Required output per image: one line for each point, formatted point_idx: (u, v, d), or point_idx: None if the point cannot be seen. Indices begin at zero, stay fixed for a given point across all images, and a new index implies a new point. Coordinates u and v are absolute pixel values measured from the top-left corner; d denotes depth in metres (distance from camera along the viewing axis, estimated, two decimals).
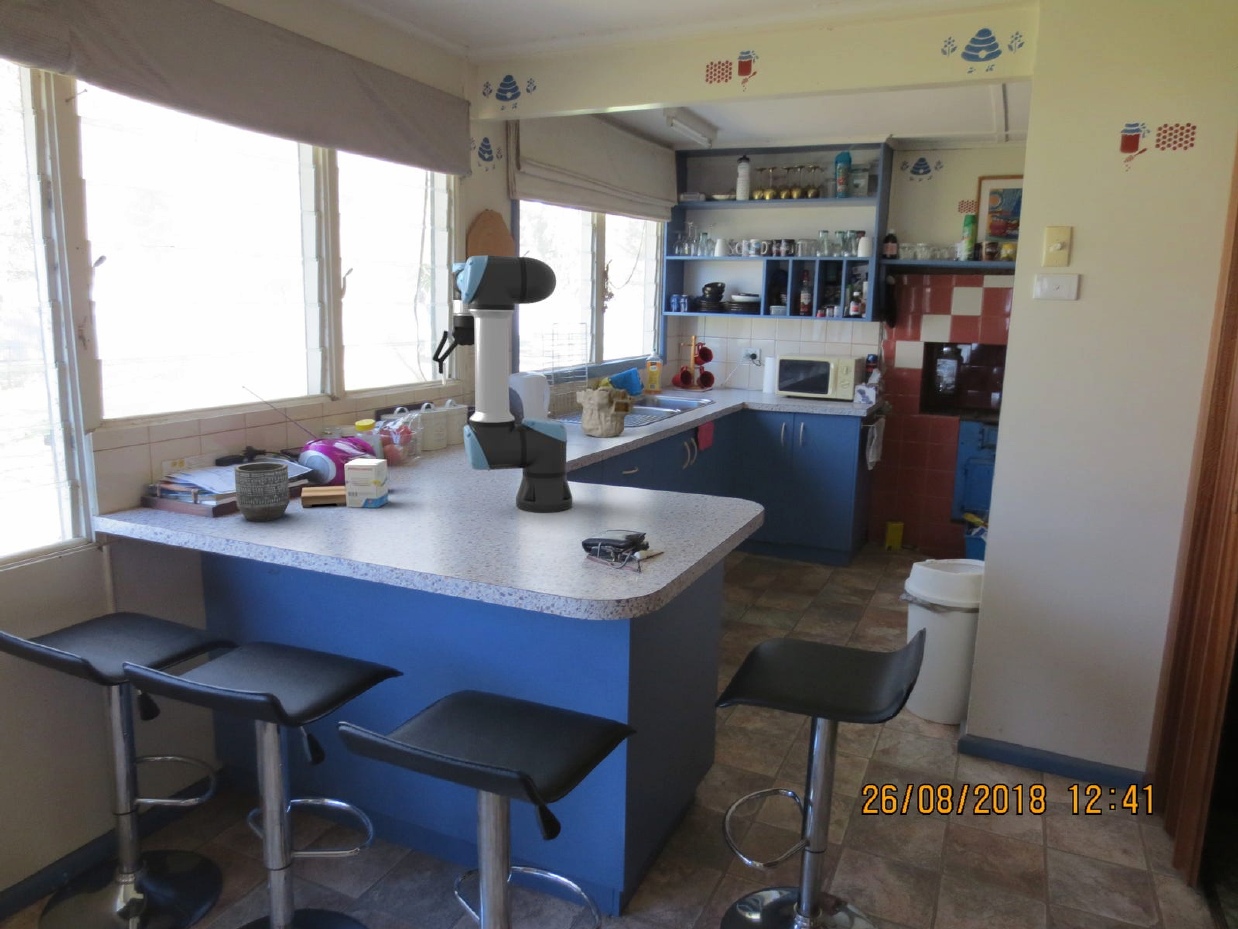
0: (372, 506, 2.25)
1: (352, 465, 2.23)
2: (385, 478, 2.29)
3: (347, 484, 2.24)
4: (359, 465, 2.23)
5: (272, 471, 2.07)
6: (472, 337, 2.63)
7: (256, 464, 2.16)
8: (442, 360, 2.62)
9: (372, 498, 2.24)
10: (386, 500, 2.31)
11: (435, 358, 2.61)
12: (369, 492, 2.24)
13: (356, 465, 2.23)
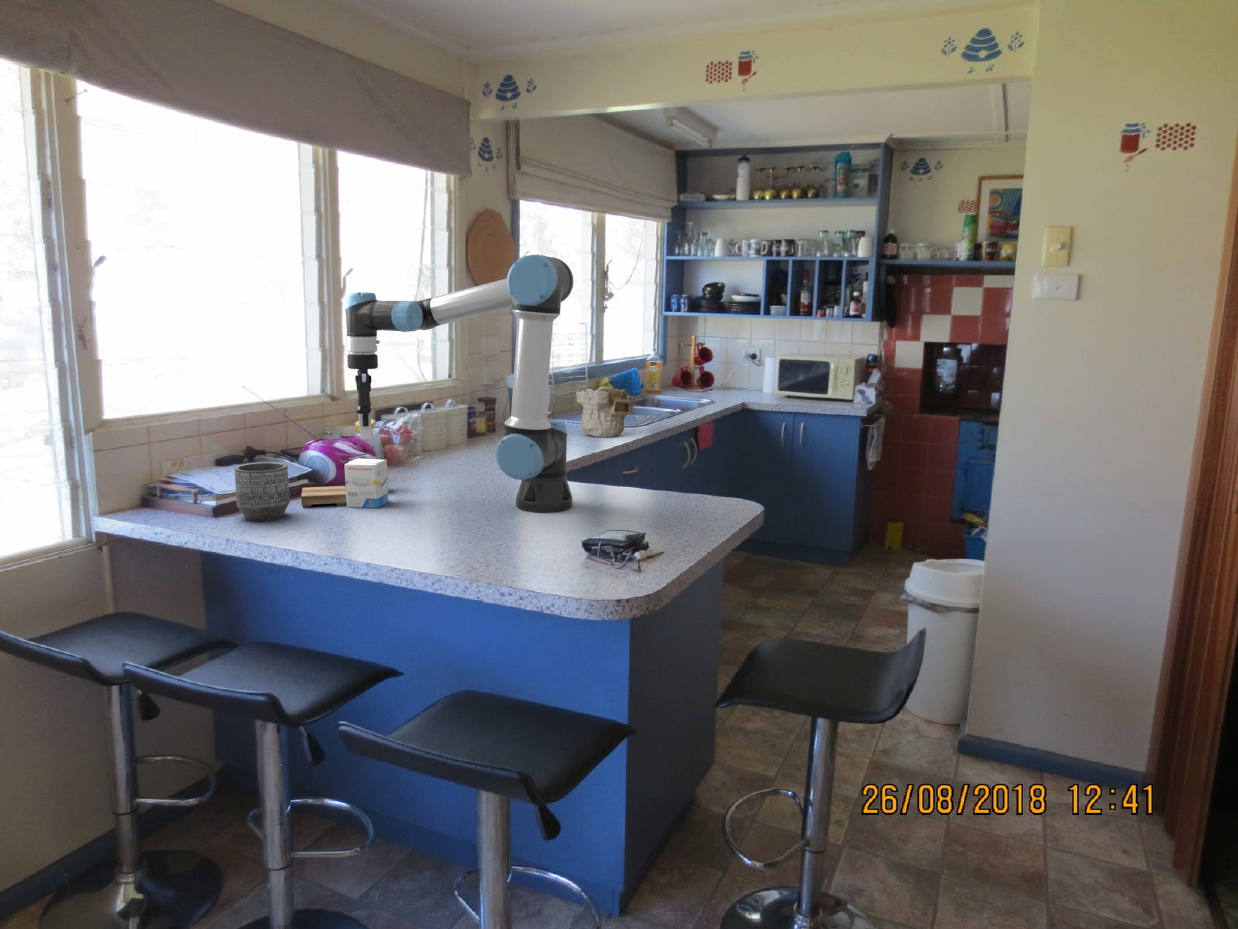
0: (372, 506, 2.25)
1: (352, 465, 2.23)
2: (385, 478, 2.29)
3: (347, 484, 2.24)
4: (359, 465, 2.23)
5: (272, 471, 2.07)
6: (355, 380, 2.21)
7: (256, 464, 2.16)
8: (358, 403, 2.31)
9: (372, 498, 2.24)
10: (386, 500, 2.31)
11: (358, 400, 2.32)
12: (369, 492, 2.24)
13: (356, 465, 2.23)
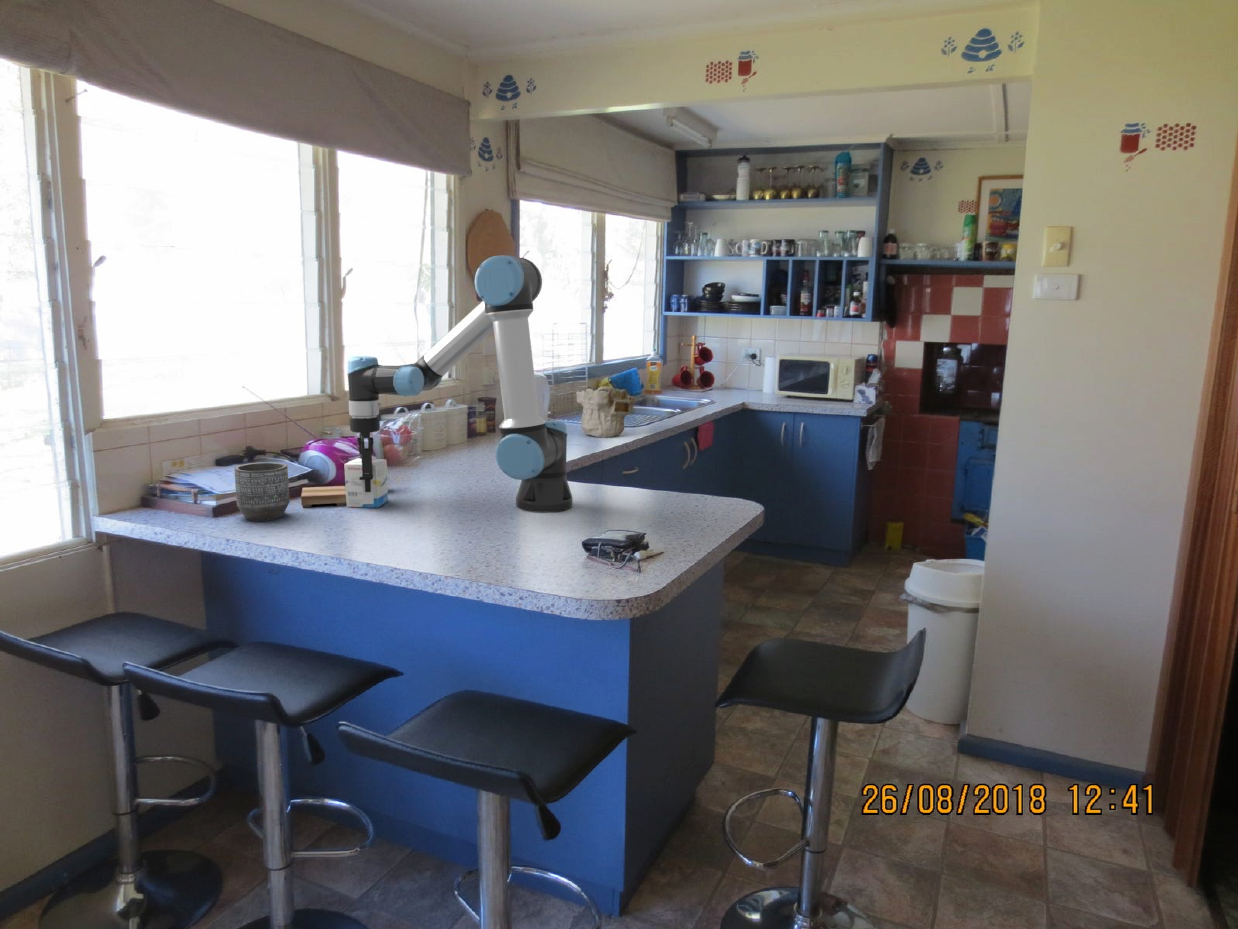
0: (372, 506, 2.25)
1: (352, 465, 2.23)
2: (385, 478, 2.29)
3: (347, 484, 2.24)
4: (359, 465, 2.23)
5: (272, 471, 2.07)
6: None
7: (256, 464, 2.16)
8: None
9: None
10: (386, 500, 2.31)
11: None
12: None
13: (356, 465, 2.23)
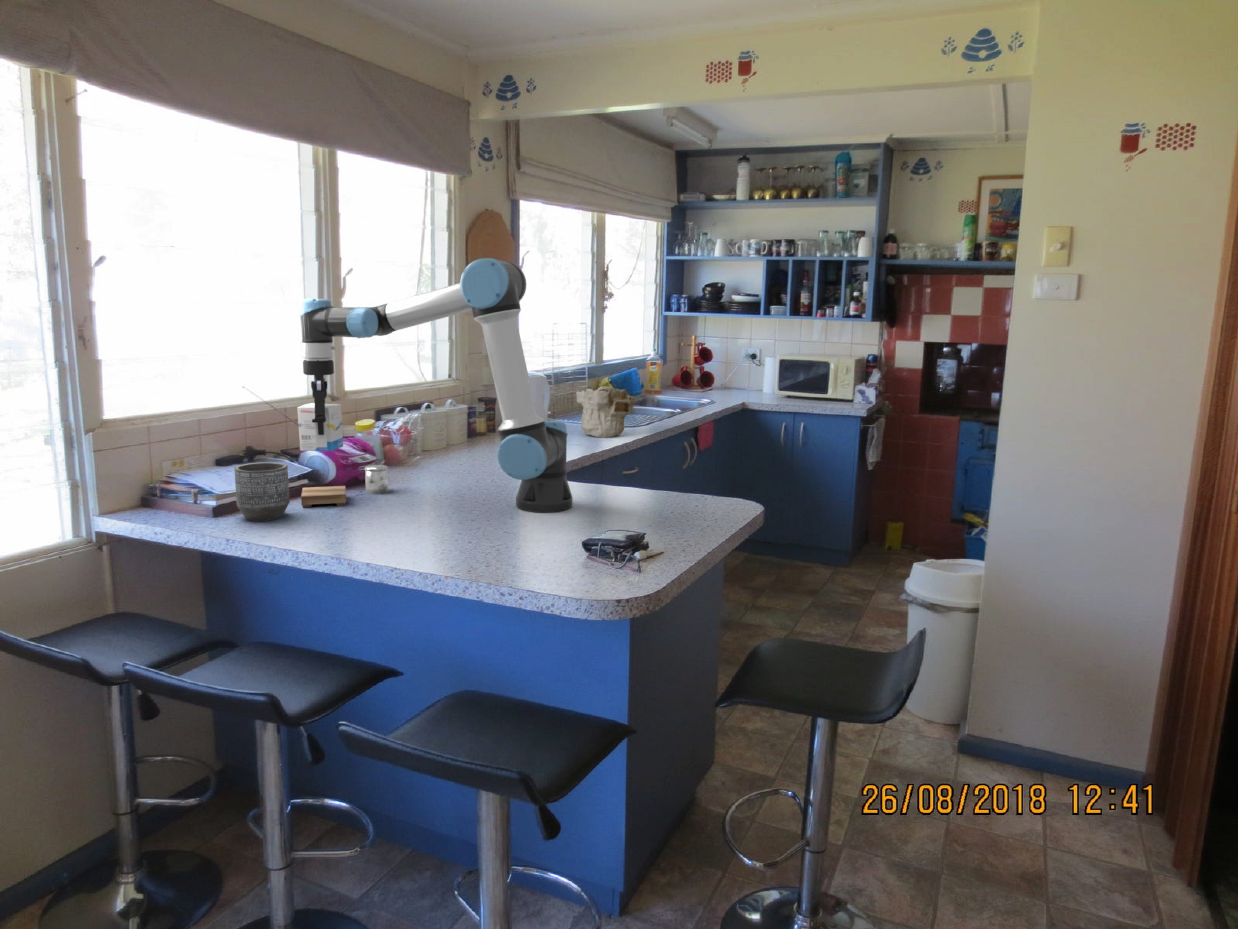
0: (325, 450, 2.23)
1: (305, 408, 2.22)
2: (340, 422, 2.28)
3: (300, 427, 2.23)
4: (312, 408, 2.21)
5: (272, 471, 2.07)
6: (311, 386, 2.22)
7: (256, 464, 2.16)
8: None
9: None
10: (341, 445, 2.29)
11: None
12: None
13: (309, 408, 2.21)
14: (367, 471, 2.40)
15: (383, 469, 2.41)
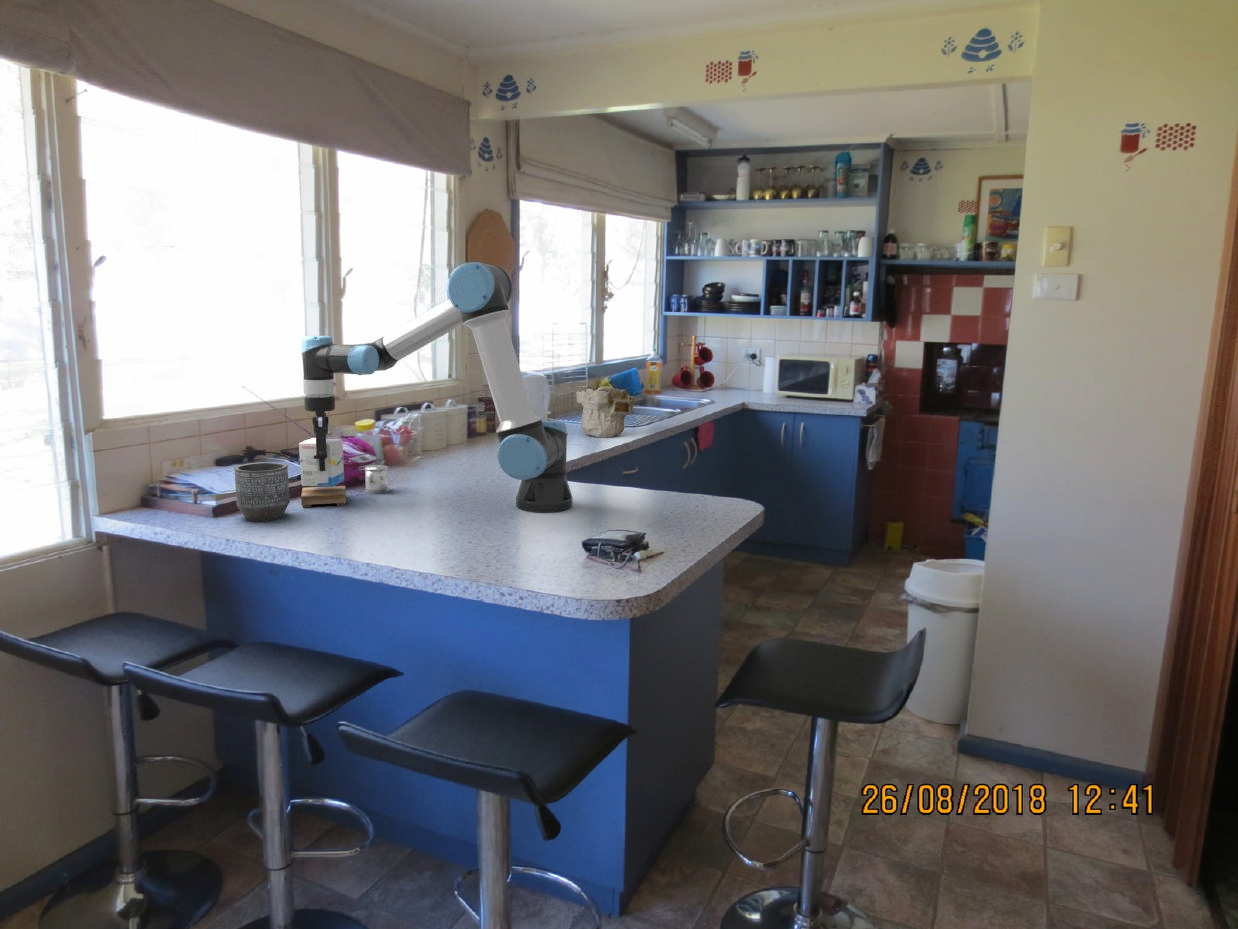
0: (326, 485, 2.25)
1: (306, 444, 2.23)
2: (341, 457, 2.30)
3: (302, 463, 2.24)
4: (313, 444, 2.23)
5: (272, 471, 2.07)
6: None
7: (256, 464, 2.16)
8: None
9: None
10: (342, 479, 2.31)
11: None
12: None
13: (310, 444, 2.23)
14: (367, 471, 2.40)
15: (383, 469, 2.41)
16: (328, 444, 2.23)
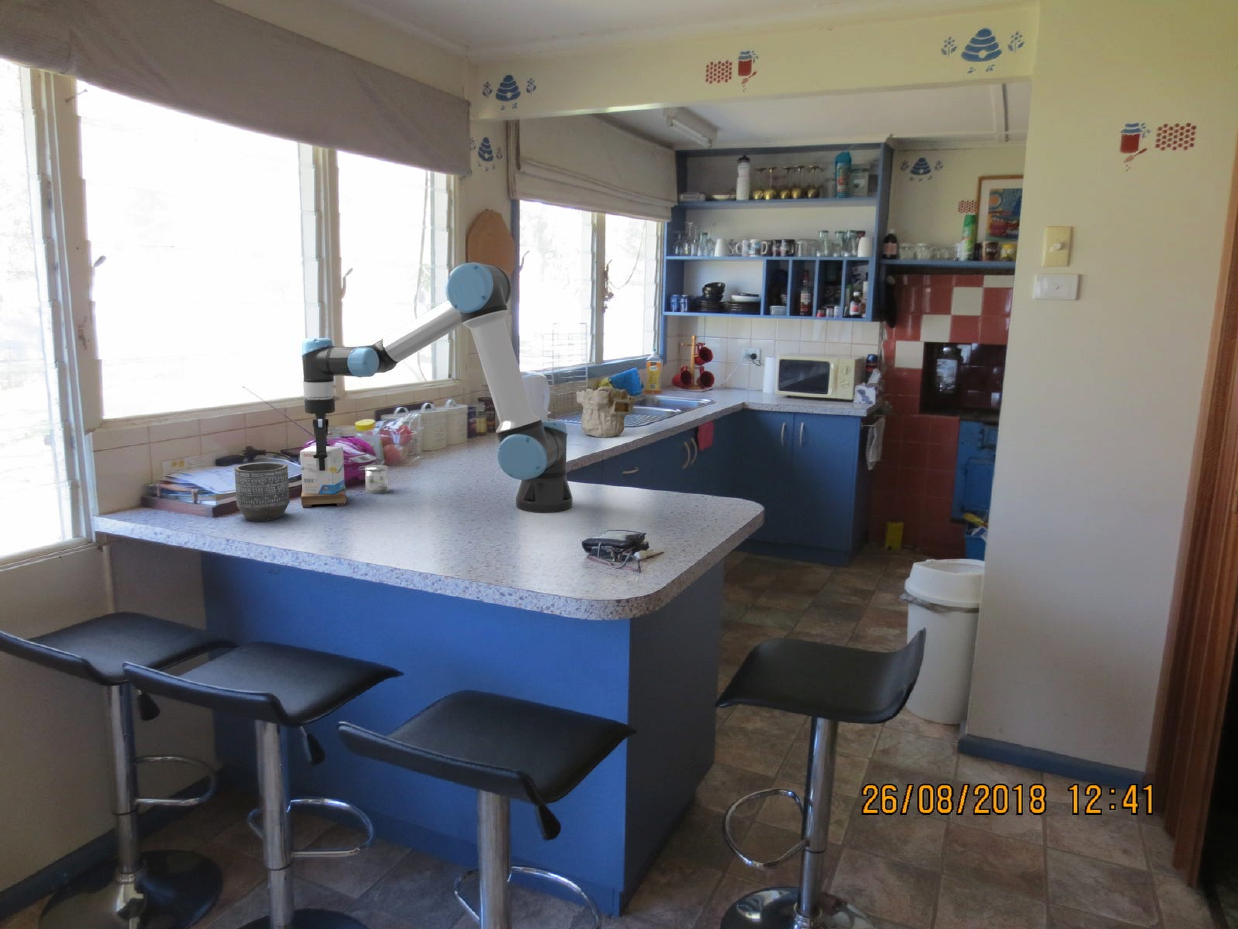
0: (328, 493, 2.25)
1: (308, 452, 2.24)
2: (341, 465, 2.30)
3: (303, 471, 2.25)
4: (315, 452, 2.24)
5: (272, 471, 2.07)
6: None
7: (256, 464, 2.16)
8: None
9: (328, 485, 2.25)
10: (343, 487, 2.32)
11: None
12: None
13: (312, 452, 2.24)
14: (367, 471, 2.40)
15: (383, 469, 2.41)
16: (330, 452, 2.23)
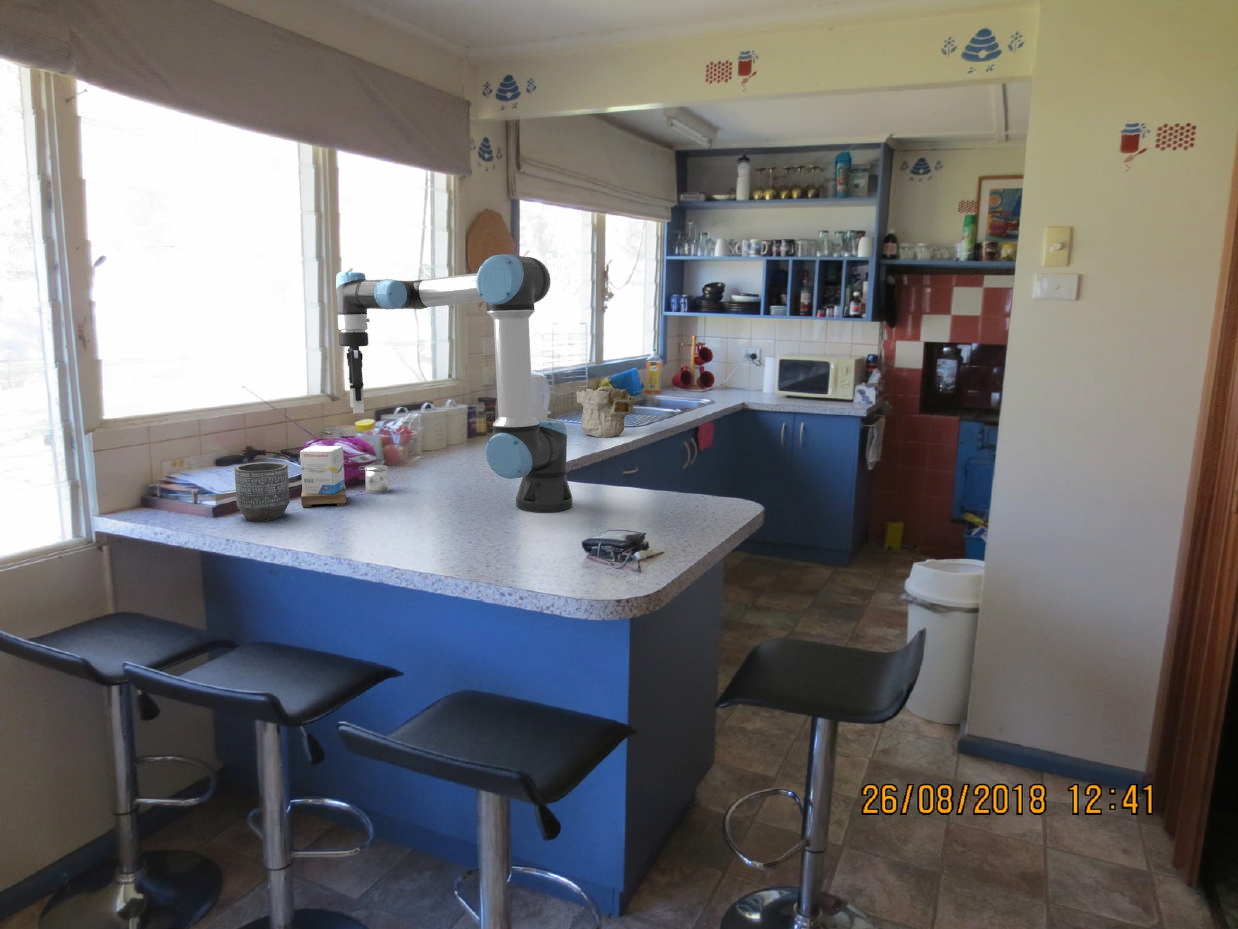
0: (328, 493, 2.25)
1: (308, 452, 2.24)
2: (341, 465, 2.30)
3: (303, 471, 2.25)
4: (315, 452, 2.24)
5: (272, 471, 2.07)
6: (347, 357, 2.29)
7: (256, 464, 2.16)
8: (349, 380, 2.39)
9: (328, 485, 2.25)
10: (343, 487, 2.32)
11: None
12: (326, 478, 2.25)
13: (312, 452, 2.24)
14: (367, 471, 2.40)
15: (383, 469, 2.41)
16: (330, 452, 2.23)
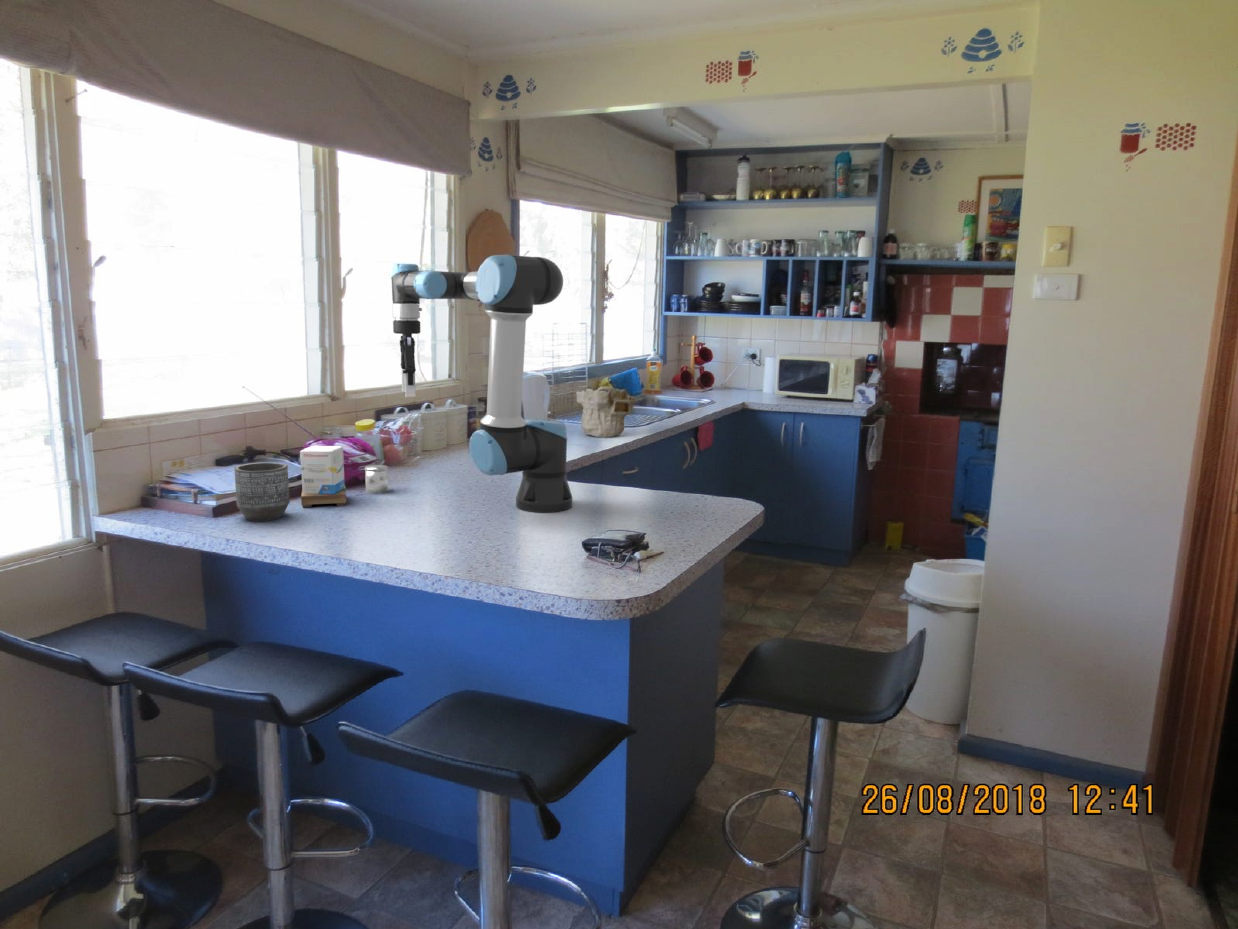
0: (328, 493, 2.25)
1: (308, 452, 2.24)
2: (341, 465, 2.30)
3: (303, 471, 2.25)
4: (315, 452, 2.24)
5: (272, 471, 2.07)
6: (400, 343, 2.43)
7: (256, 464, 2.16)
8: (401, 366, 2.53)
9: (328, 485, 2.25)
10: (343, 487, 2.32)
11: None
12: (326, 478, 2.25)
13: (312, 452, 2.24)
14: (367, 471, 2.40)
15: (383, 469, 2.41)
16: (330, 452, 2.23)
